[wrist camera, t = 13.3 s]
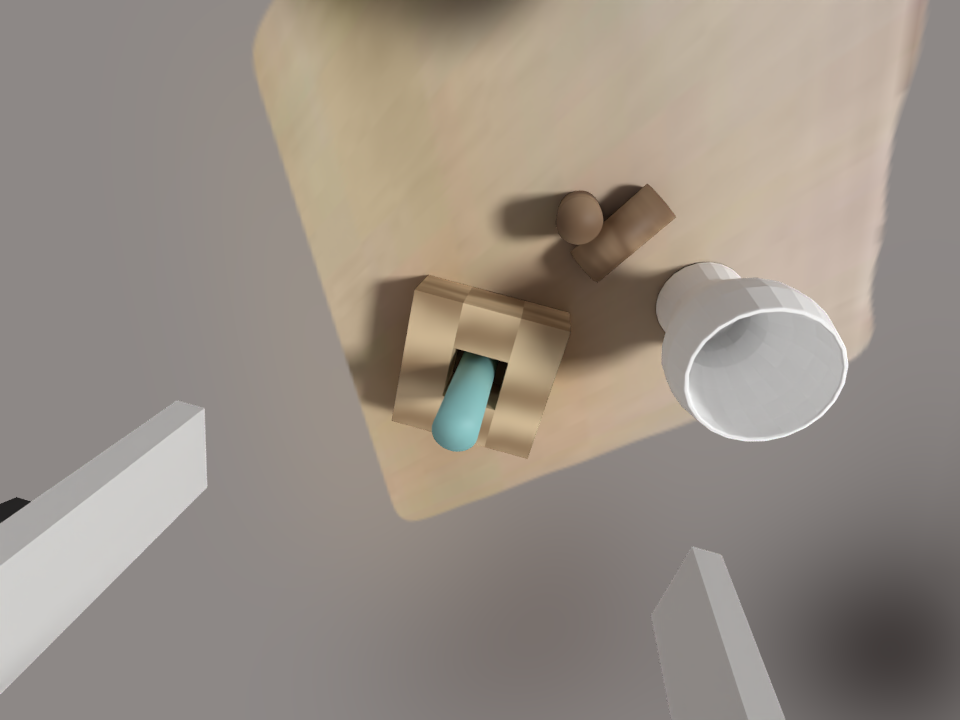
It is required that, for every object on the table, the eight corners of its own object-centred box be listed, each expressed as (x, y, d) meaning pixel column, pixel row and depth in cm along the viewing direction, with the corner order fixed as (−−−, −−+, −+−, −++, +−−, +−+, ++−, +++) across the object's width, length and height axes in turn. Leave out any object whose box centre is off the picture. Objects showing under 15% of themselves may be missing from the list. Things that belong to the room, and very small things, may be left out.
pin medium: (593, 273, 45) (667, 210, 41) (600, 288, 41) (681, 222, 38) (568, 246, 43) (642, 179, 40) (573, 260, 40) (654, 189, 37)
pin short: (563, 186, 41) (562, 192, 37) (605, 195, 41) (609, 202, 37) (553, 228, 43) (551, 239, 39) (593, 237, 43) (595, 248, 38)
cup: (632, 354, 47) (662, 442, 33) (648, 243, 42) (690, 294, 29) (748, 360, 45) (828, 455, 32) (778, 247, 41) (886, 302, 27)
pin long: (467, 336, 49) (435, 406, 36) (502, 345, 48) (482, 418, 36) (460, 367, 50) (428, 444, 38) (494, 376, 50) (473, 456, 37)
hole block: (428, 274, 46) (414, 289, 42) (569, 312, 46) (570, 332, 42) (405, 396, 53) (391, 420, 48) (530, 430, 52) (527, 458, 48)
